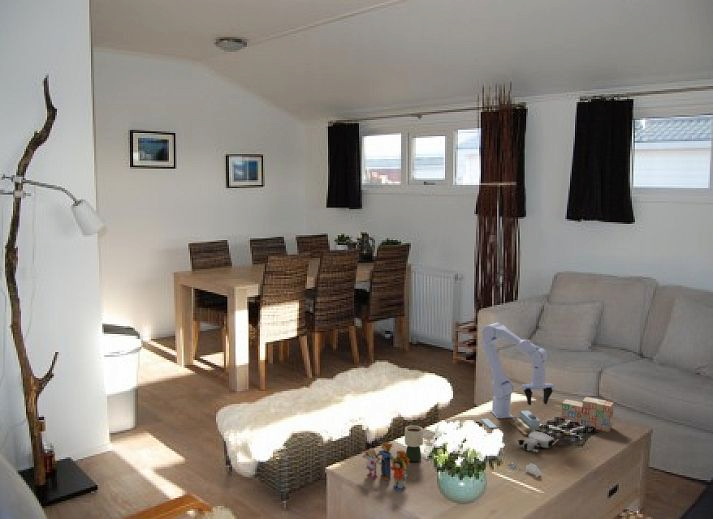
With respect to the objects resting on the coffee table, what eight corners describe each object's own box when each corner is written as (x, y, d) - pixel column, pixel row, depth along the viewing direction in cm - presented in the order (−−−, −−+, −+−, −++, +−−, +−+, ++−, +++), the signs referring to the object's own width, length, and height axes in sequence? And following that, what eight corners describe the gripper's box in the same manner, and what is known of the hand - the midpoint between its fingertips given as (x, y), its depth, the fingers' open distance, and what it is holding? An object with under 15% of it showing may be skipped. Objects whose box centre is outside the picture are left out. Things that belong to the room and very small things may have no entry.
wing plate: (480, 421, 294) (480, 419, 294) (487, 421, 295) (487, 418, 295) (489, 430, 285) (490, 427, 285) (497, 429, 285) (497, 426, 285)
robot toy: (536, 459, 257) (559, 447, 265) (536, 448, 256) (559, 437, 265) (512, 448, 266) (535, 437, 275) (512, 438, 266) (535, 427, 274)
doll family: (360, 474, 240) (361, 441, 238) (377, 466, 247) (378, 433, 245) (403, 493, 225) (404, 458, 224) (420, 484, 232) (421, 450, 231)
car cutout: (545, 475, 241) (546, 464, 241) (535, 481, 237) (536, 469, 236) (512, 462, 252) (513, 451, 252) (502, 467, 248) (503, 456, 248)
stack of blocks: (560, 422, 294) (562, 396, 292) (564, 417, 299) (565, 392, 297) (609, 432, 282) (611, 406, 281) (612, 428, 287) (613, 401, 286)
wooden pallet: (509, 422, 292) (510, 416, 292) (534, 420, 294) (534, 414, 294) (524, 436, 277) (524, 429, 276) (549, 434, 279) (550, 428, 278)
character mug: (428, 462, 250) (429, 431, 248) (414, 467, 246) (415, 435, 244) (411, 452, 259) (412, 422, 257) (397, 456, 255) (398, 426, 253)
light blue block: (519, 421, 291) (520, 408, 290) (528, 420, 292) (528, 408, 291) (530, 431, 279) (531, 418, 279) (539, 431, 280) (540, 418, 279)
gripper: (526, 378, 282) (525, 407, 284) (557, 377, 284) (556, 406, 286) (520, 373, 289) (519, 402, 290) (550, 372, 291) (549, 401, 292)
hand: (537, 404), depth 288 cm, fingers open, 7 cm apart
